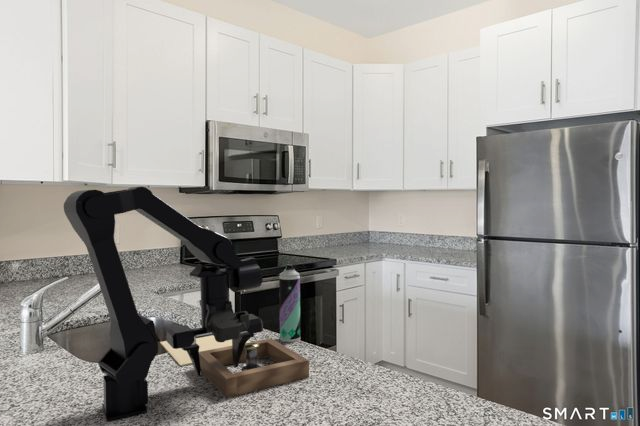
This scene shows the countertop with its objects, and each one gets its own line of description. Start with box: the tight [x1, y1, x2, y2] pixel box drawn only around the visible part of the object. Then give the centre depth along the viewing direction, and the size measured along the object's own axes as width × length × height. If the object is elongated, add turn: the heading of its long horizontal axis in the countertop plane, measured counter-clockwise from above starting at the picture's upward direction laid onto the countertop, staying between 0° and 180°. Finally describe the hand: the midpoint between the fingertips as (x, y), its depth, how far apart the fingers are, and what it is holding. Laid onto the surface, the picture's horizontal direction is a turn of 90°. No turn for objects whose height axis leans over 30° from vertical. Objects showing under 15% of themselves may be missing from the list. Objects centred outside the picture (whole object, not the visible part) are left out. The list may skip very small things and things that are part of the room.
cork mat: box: [159, 335, 252, 367], centre depth 114 cm, size 20×20×1 cm
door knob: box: [240, 341, 262, 372], centre depth 96 cm, size 4×4×6 cm
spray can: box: [278, 264, 301, 343], centre depth 119 cm, size 6×6×20 cm
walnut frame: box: [199, 338, 310, 398], centre depth 96 cm, size 18×18×4 cm
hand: (217, 371), depth 92 cm, fingers open, 7 cm apart
